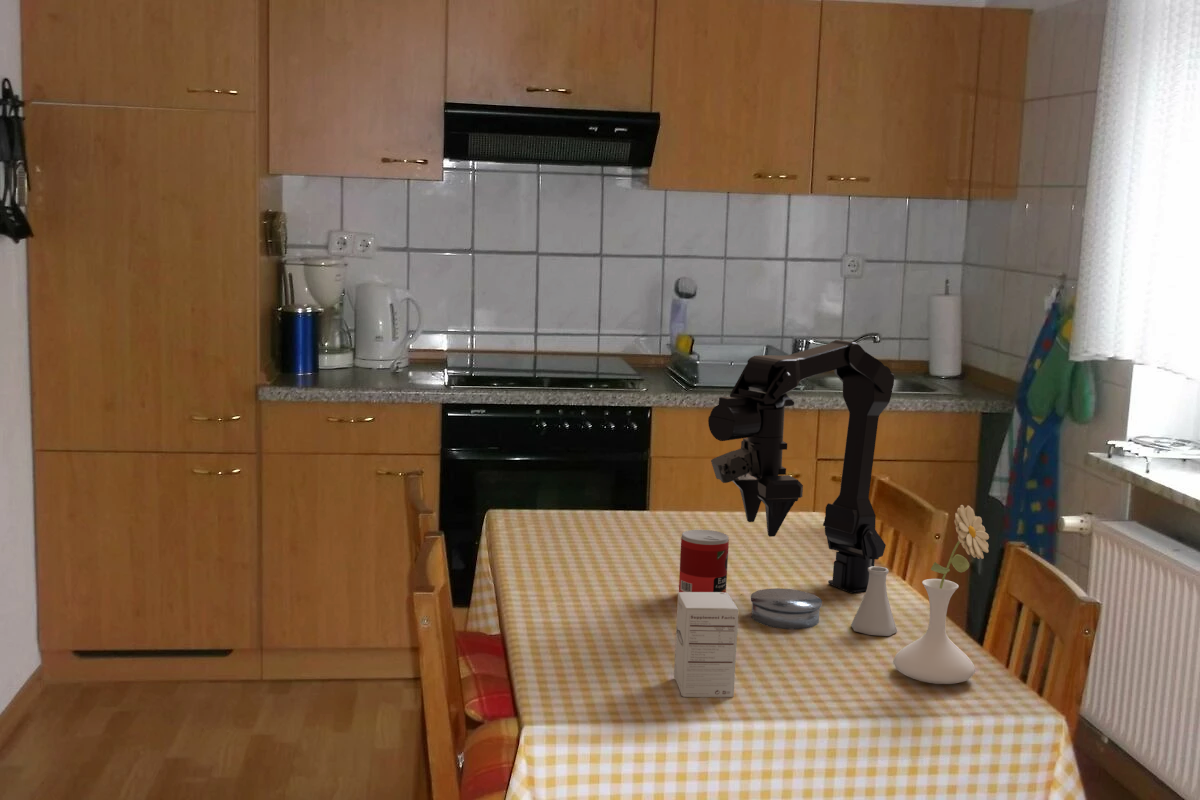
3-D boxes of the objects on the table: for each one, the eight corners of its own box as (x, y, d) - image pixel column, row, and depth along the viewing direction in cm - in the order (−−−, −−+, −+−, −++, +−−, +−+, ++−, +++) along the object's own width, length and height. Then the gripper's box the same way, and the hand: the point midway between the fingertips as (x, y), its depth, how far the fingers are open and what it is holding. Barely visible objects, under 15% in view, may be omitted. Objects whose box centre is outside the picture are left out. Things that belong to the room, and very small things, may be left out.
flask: (899, 626, 208) (904, 566, 207) (894, 640, 202) (899, 577, 200) (854, 620, 211) (858, 560, 209) (847, 633, 204) (851, 571, 202)
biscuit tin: (792, 605, 218) (793, 585, 217) (835, 626, 208) (836, 604, 207) (735, 613, 212) (736, 592, 212) (776, 634, 202) (778, 613, 202)
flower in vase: (929, 696, 178) (943, 518, 175) (875, 669, 188) (888, 500, 185) (1000, 683, 184) (1015, 511, 181) (944, 657, 194) (957, 494, 191)
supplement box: (672, 678, 182) (676, 590, 180) (725, 678, 182) (729, 591, 180) (680, 698, 174) (684, 607, 172) (734, 698, 175) (739, 607, 173)
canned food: (723, 607, 214) (726, 542, 213) (675, 602, 216) (678, 538, 214) (728, 594, 222) (731, 531, 220) (681, 589, 223) (684, 527, 222)
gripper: (699, 425, 216) (695, 516, 218) (738, 447, 198) (734, 546, 201) (761, 424, 219) (757, 514, 221) (806, 445, 201) (801, 543, 203)
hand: (760, 528), depth 212 cm, fingers open, 9 cm apart
